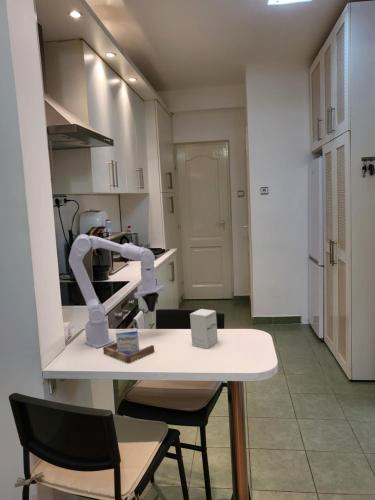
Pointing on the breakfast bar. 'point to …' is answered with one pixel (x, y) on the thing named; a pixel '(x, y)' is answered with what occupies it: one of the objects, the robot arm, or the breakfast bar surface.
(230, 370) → the breakfast bar surface
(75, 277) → the robot arm
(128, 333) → the medicine box
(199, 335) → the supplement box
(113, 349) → the walnut bay
